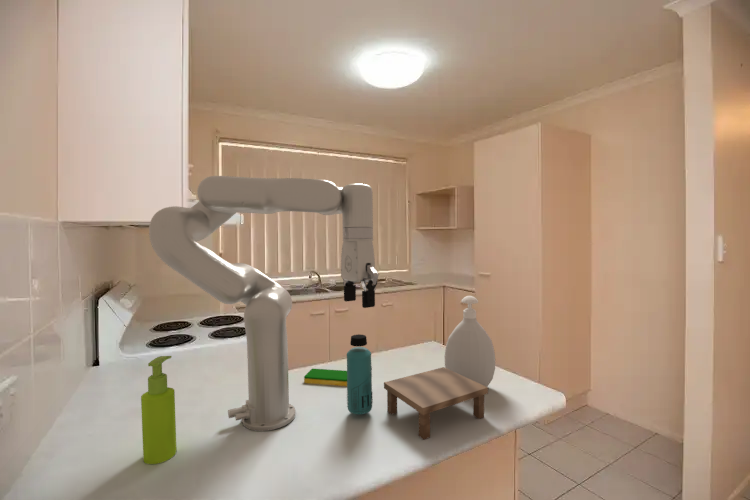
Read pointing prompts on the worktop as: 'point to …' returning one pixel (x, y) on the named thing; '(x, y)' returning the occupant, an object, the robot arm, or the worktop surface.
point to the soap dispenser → (158, 416)
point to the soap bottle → (470, 348)
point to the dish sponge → (326, 377)
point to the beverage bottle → (359, 376)
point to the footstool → (434, 394)
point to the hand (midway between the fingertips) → (358, 303)
